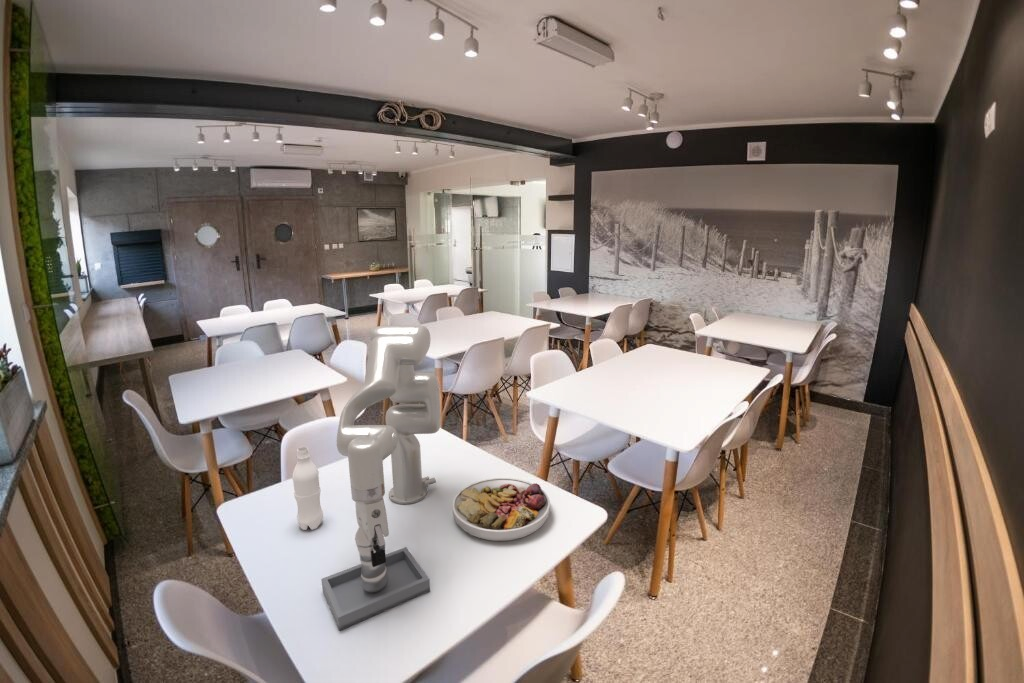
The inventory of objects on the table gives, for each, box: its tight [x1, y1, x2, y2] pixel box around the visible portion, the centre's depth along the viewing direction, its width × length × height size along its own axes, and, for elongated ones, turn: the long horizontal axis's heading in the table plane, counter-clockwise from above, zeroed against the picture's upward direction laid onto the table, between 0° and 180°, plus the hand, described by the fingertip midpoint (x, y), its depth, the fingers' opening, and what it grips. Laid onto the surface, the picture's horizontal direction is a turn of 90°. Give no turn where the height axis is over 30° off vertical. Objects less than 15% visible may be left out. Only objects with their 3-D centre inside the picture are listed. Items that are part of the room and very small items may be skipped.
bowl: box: [451, 477, 551, 542], centre depth 154 cm, size 30×30×8 cm
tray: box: [321, 546, 431, 632], centre depth 123 cm, size 22×15×4 cm
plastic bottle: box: [354, 518, 388, 593], centre depth 120 cm, size 6×7×20 cm
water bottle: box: [292, 446, 324, 531], centre depth 147 cm, size 7×7×25 cm
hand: (373, 554), depth 121 cm, fingers open, 7 cm apart
